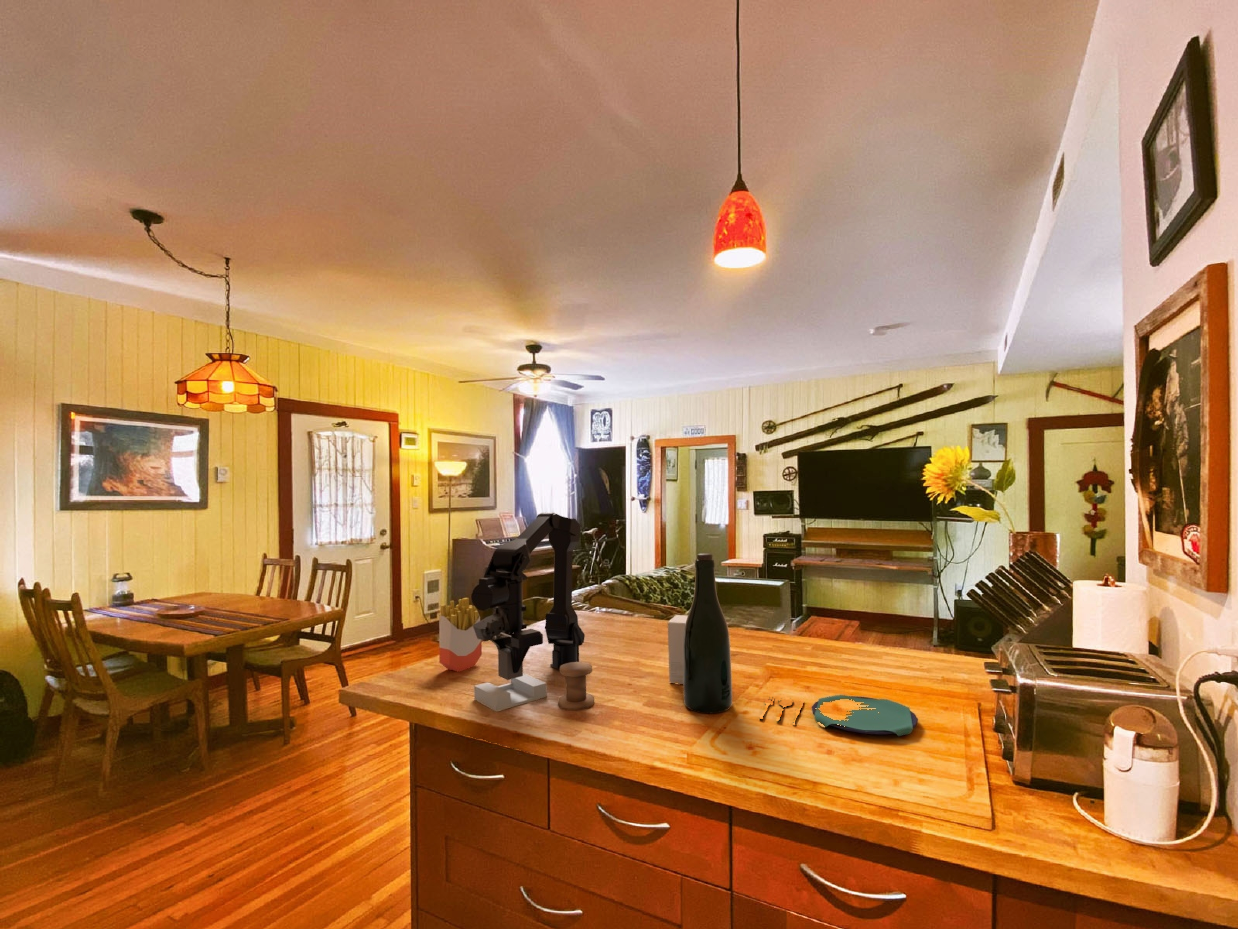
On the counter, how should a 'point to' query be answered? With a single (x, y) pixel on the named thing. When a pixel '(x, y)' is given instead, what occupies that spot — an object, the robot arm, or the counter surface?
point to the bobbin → (576, 686)
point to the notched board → (510, 692)
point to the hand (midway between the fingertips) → (510, 670)
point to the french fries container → (459, 636)
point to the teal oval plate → (871, 716)
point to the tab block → (507, 665)
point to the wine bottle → (706, 646)
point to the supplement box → (676, 648)
